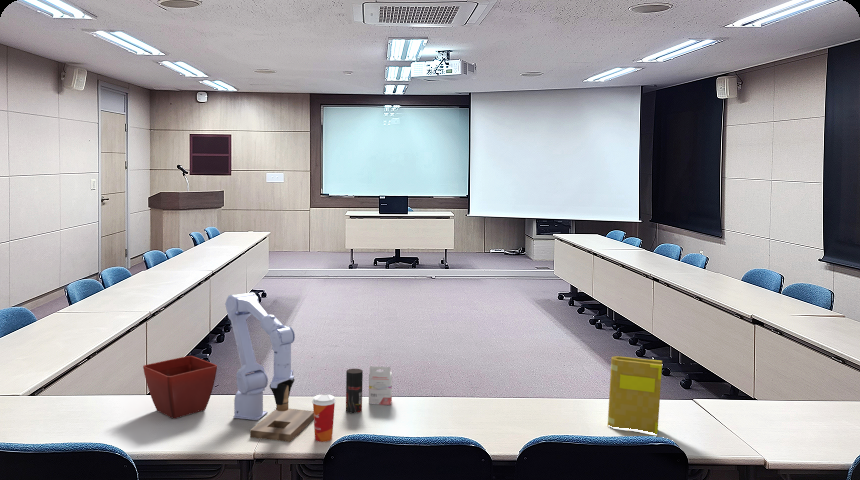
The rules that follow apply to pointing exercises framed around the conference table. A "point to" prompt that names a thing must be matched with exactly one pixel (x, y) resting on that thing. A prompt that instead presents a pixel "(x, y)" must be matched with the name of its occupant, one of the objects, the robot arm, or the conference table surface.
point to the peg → (285, 402)
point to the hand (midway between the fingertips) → (282, 402)
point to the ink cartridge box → (380, 386)
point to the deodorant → (354, 390)
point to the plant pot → (180, 385)
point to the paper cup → (323, 417)
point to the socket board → (282, 425)
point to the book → (634, 393)
